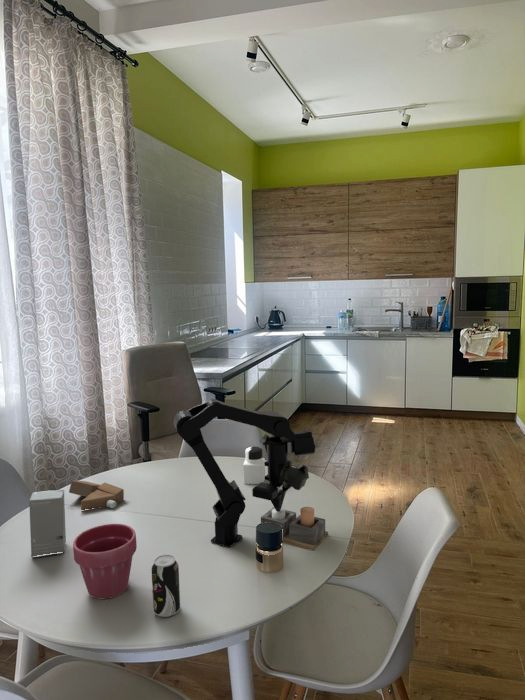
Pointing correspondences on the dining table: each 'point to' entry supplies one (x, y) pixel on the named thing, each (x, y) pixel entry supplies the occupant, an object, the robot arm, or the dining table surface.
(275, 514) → the white short rounded cylinder
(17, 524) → the dining table surface
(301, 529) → the double box holder
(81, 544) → the plant pot
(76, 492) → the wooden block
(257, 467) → the medicine bottle
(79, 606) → the dining table surface
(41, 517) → the skincare box
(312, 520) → the terracotta plunger
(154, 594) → the beverage can
